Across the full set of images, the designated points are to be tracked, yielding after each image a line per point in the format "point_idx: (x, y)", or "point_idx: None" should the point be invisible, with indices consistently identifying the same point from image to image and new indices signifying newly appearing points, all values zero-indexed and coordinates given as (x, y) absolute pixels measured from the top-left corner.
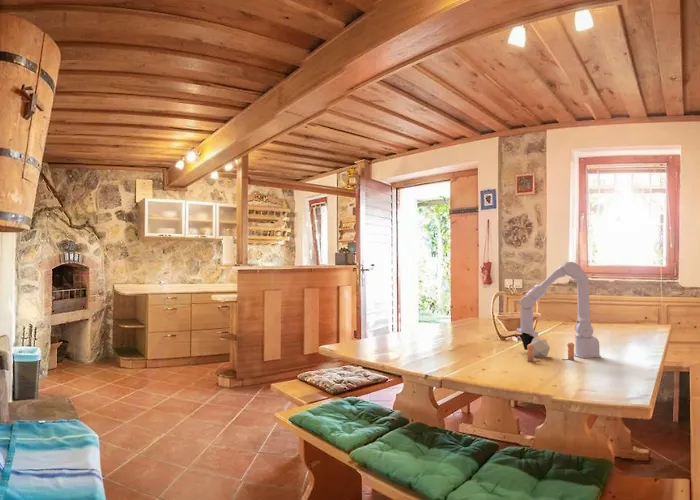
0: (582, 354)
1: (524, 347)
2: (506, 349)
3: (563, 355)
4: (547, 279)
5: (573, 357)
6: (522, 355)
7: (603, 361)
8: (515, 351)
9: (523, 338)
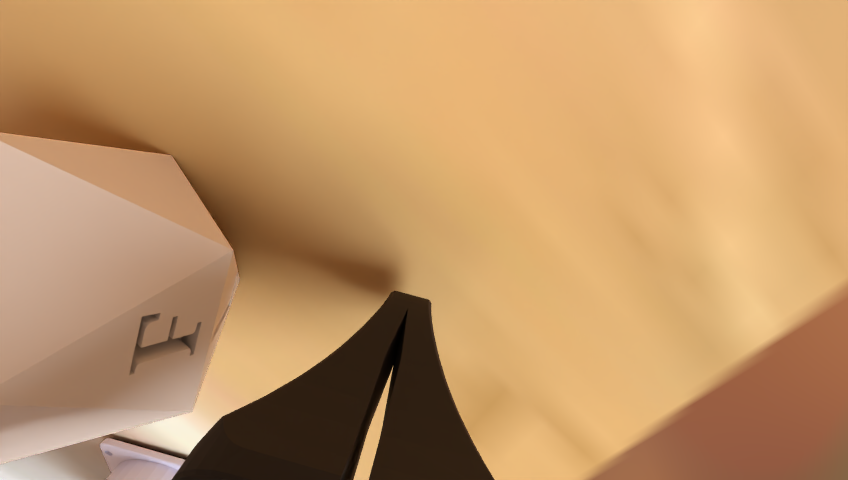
0: (117, 472)
1: (414, 309)
2: (731, 222)
3: (213, 423)
4: None
5: None
6: (276, 88)
7: None
8: (538, 223)
9: (345, 416)
